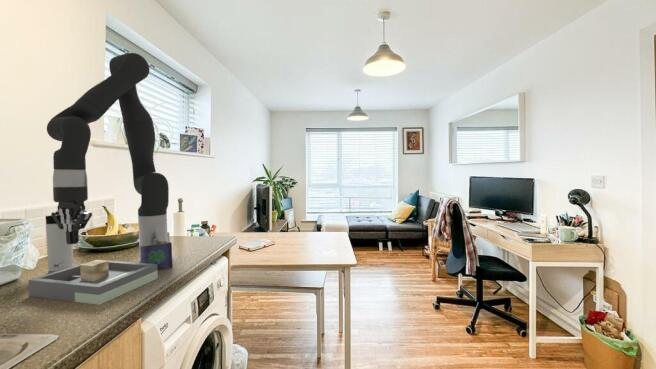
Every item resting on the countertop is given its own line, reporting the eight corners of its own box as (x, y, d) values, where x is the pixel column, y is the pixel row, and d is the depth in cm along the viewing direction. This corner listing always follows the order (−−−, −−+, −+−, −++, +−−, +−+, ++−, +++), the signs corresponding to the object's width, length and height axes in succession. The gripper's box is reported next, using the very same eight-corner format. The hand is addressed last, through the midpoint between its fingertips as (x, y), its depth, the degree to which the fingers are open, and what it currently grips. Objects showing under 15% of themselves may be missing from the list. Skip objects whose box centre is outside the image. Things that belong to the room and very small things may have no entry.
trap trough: (97, 272, 94) (96, 259, 94) (157, 278, 88) (157, 264, 88) (29, 296, 76) (28, 279, 76) (99, 304, 71) (98, 287, 71)
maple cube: (96, 274, 85) (96, 259, 85) (108, 275, 84) (108, 260, 84) (80, 280, 81) (80, 264, 81) (93, 281, 80) (92, 265, 80)
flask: (140, 273, 93) (139, 241, 93) (141, 270, 96) (140, 239, 95) (172, 268, 98) (171, 237, 98) (172, 265, 100) (171, 236, 100)
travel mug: (59, 275, 92) (55, 214, 91) (43, 273, 94) (39, 213, 93) (79, 268, 98) (76, 211, 98) (64, 267, 100) (61, 211, 99)
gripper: (101, 185, 85) (102, 242, 86) (68, 184, 88) (69, 239, 89) (73, 186, 78) (75, 248, 78) (38, 185, 81) (40, 245, 82)
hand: (72, 243), depth 84 cm, fingers closed
